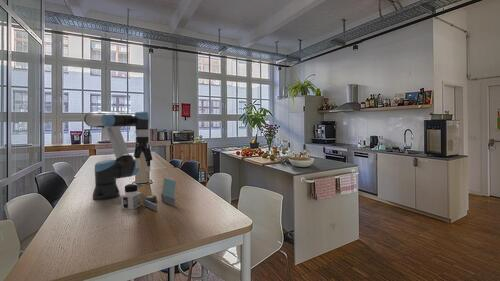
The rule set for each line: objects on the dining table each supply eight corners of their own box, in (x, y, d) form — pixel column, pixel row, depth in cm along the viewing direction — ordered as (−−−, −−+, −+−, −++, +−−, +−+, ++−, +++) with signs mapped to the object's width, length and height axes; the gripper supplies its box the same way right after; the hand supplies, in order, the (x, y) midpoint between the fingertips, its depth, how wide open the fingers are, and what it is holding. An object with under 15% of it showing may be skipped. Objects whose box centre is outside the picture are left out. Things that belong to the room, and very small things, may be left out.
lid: (164, 177, 150) (166, 177, 151) (161, 195, 149) (163, 195, 150) (175, 180, 141) (177, 180, 142) (172, 199, 141) (174, 199, 142)
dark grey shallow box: (144, 205, 142) (143, 197, 142) (162, 200, 151) (162, 193, 150) (155, 211, 133) (155, 203, 132) (175, 205, 141) (174, 198, 141)
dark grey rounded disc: (142, 201, 149) (142, 197, 148) (153, 198, 154) (153, 194, 154) (147, 204, 144) (147, 199, 144) (158, 201, 149) (158, 196, 149)
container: (133, 209, 135) (132, 186, 134) (121, 208, 137) (120, 186, 136) (142, 205, 143) (141, 183, 142) (130, 204, 144) (129, 182, 143)
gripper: (127, 135, 157) (128, 167, 159) (145, 137, 140) (146, 173, 142) (139, 134, 162) (139, 166, 164) (158, 137, 146) (158, 171, 148)
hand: (142, 169), depth 153 cm, fingers open, 13 cm apart
